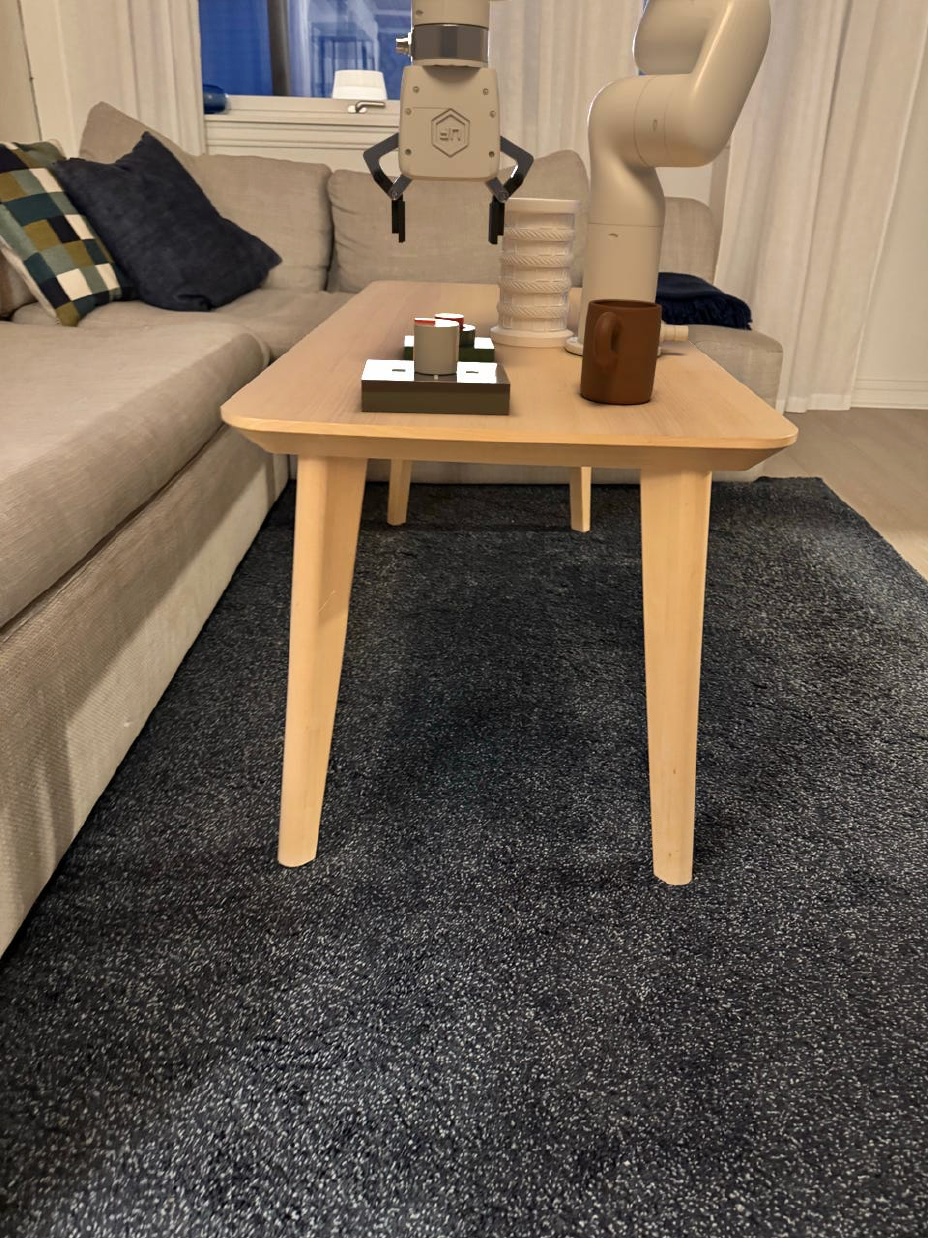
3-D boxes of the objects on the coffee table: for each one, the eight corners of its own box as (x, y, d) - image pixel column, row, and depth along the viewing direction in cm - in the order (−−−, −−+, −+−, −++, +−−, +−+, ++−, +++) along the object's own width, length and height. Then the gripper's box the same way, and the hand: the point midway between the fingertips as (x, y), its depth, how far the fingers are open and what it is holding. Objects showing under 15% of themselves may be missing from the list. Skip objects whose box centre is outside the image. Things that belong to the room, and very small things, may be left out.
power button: (462, 328, 114) (463, 314, 114) (464, 332, 111) (464, 318, 110) (434, 327, 114) (434, 313, 113) (434, 332, 111) (434, 317, 110)
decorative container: (582, 338, 130) (594, 200, 122) (558, 350, 120) (570, 201, 113) (506, 331, 134) (513, 197, 126) (477, 342, 124) (483, 197, 116)
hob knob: (457, 366, 91) (459, 317, 89) (457, 375, 87) (459, 323, 85) (414, 365, 91) (414, 315, 89) (412, 374, 87) (412, 322, 85)
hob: (500, 392, 95) (502, 361, 94) (509, 415, 86) (510, 381, 85) (367, 389, 95) (367, 358, 93) (361, 411, 86) (361, 377, 84)
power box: (489, 351, 118) (491, 323, 116) (494, 362, 111) (495, 333, 109) (405, 349, 117) (405, 320, 116) (403, 360, 110) (404, 330, 109)
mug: (631, 418, 87) (643, 315, 83) (555, 408, 90) (563, 308, 86) (659, 395, 97) (670, 302, 93) (590, 386, 100) (599, 296, 95)
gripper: (358, 44, 84) (363, 243, 92) (544, 50, 85) (533, 247, 93) (361, 53, 91) (366, 238, 98) (533, 58, 92) (524, 241, 100)
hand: (447, 242), depth 96 cm, fingers open, 9 cm apart
